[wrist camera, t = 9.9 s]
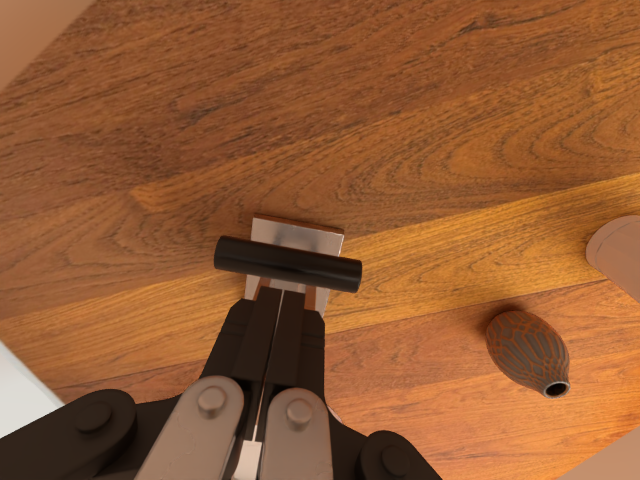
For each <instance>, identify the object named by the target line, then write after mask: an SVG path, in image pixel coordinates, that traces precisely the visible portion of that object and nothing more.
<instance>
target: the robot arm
mask: <svg viewBox="0 0 640 480" xmlns="http://www.w3.org/2000/svg"><path fill="white" fill-rule="evenodd" d="M282 290H283V289H277V288H272V287H266V286H261V287H260V290H259V293H258V296H257V299H256V301H255V300H249V299H243V298H241V299H240V300H239V301H238V302H237V303H235V304H234V305H233V306H232V307H231V308H230V310H229V313H228V315H227V317H226V319H225V322H224V324H223V326H222V328H221V332H220V333H219V335H218V337H217V340H216V342H215V344H214V347H213V349H212V351H211V353H210V356H209V358H208V360H207V362H206V365H205V367H204V369H203V372H202V374H201V376H200V377H199V379H198V380H197V381H195V382H194V383H192V384H191V385H190V386H189V387H188V388H187V389H186V390H185V391H184V392H183V393H182V394H180V395H177V396H175V397H172V398H169V399H165V400H160V401H153V402H147V403H140V404H135V402H134V400H133V398H132V397H131V396H130V395H129V394H128V393H126V392H124V391H121V390H117V389H104V390H99V391H95V392H92V393H89V394H87V395H84V396H82V397H80V398H78V399H76V400H74V401H72V402H70V403H68V404H66V405H65V406H63V407H61V408H59V409H57V410H55V411H53V412H51V413H49V414H47V415H45V416H43V417H41V418H39V419H37V420H35V421H33V422H31V423H30V424H28V425H26V426H24V427H22V428H20V429H18V430H16V431H14V432H12V433H10V434H8V435H6V436H4V437H2V438H1V439H0V480H233V477H234V473H235V471H236V469H237V466H238V463H239V459H240V455H241V450H242V446H243V442H244V440H245V441H252V439H253V434H254V430H255V425H256V420H257V416H258V411H259V406H260V402H261V407H260V413H259V419H258V425H257V431H256V436H255V442H261V443H262V445H261V450H260V456H259V461H258V467H257V472H256V477H255V480H442V478H441V477H440V476H439V475H438V474H437V473H436V471H435V470H434V469H433V468H432V467H431V466H430V465H429V463H428V462H427V461H426V460H425V459H424V458H423V457H422V455H421V454H420V453H419V452H418V451H417V450H416V448H415V447H414V446H413V445H412V444H411V443H410V442H409V441H408V440H406V439H405V438H404V437H402V436H401V435H399V434H397V433H395V432H391V431H386V430H381V431H376V432H374V433H372V434H370V435H369V436H368V437H367V436H365V435H363V434H361V433H359V432H357V431H355V430H353V429H351V428H349V427H347V426H345V425H344V424H342V423H341V422H340V421H338V420H337V419H336V418H335V417H334V416H333V414H332V413H331V412H330V410H329V408H328V407H327V404H326V401H325V397H324V347H325V339H324V337H325V323H324V321H323V319H322V317H321V315H320V313H319V311H314V310H308V309H304V306H305V296H306V293H301V292H295V291H289V290H284V294H283V299H282V304H281V308H280V302H281V297H282ZM279 308H280V313H279ZM278 314H279V318H278ZM277 319H278V322H277ZM276 325H277V327H276ZM275 330H276V332H275ZM272 345H273V346H272ZM271 350H272V351H271ZM269 359H270V360H269ZM268 364H269V365H268ZM265 378H266V379H265ZM264 383H265V384H264ZM263 388H264V390H263ZM262 392H263V396H262ZM261 397H262V401H261Z"/></svg>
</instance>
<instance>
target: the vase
mask: <svg viewBox="0 0 640 480" xmlns="http://www.w3.org/2000/svg"><path fill="white" fill-rule="evenodd" d="M486 345H487V349H488V352H489V354H490V356H491V358H492V360H493V361H494V363H495V364H496V366H497V367H498V368H499V369H500V370H501V371H502V372H503V373H504V374H505V375H506V376H507V377H509V378H510V379H511V380H513V381H514V382H516V383H518V384H520V385H522V386H525V387H527V388H530V389H533V390H535V391H537V392H539V393H541V394H542V395H543V396H545V397H547V398H551V399H554V398H560V397H562V396H564V395H566V394H567V393H568V392H569V390H570V383H569V379H568V373H569V354H568V351H567V348H566V346H565V344H564V342H563V340H562V338H561V337H560V335H559V334H558V333H557V332H556V331H555V330H554V329H553V328H552V327H551V326H550V325H549V324H548V323H547V322H546V321H544V320H543V319H541V318H539V317H537V316H536V315H533V314H531V313H528V312H524V311H508V312H504V313H501V314H499V315H497V316H496V317H495V318H494V319H493V320H492V321H491V322H490V324H489V325H488V327H487V330H486Z"/></svg>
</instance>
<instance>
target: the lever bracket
mask: <svg viewBox="0 0 640 480" xmlns="http://www.w3.org/2000/svg"><path fill="white" fill-rule="evenodd" d="M343 239H344V230H341V229H335V228H330V227H325V226H320V225H314V224H309V223H304V222H299V221H293V220H288V219H283V218H278V217H272V216H267V215H262V214H257V213H256V214H255V215H254V217H253V223H252V232H251V240H252V241H258V242H263V243H268V244H274V245H279V246H285V247H290V248H296V249H301V250H306V251H312V252H317V253H323V254H328V255H334V256H339V254H340V251H341V247H342V243H343ZM273 285H274V279H270V278H264V277H259V276H253V275H247V278H246V287H245V297H244V299H249V300H255V301H256V299H257V296H258V293H259V290H260V287H261V286H266V287H272V288H273ZM297 292H301V293H306V296H305V306H304V309H308V310H314V311H319V313H320V315H321V317H322V319H323V316H324V312H325V308H326V304H327V300H328V297H329V293H330V289H327V288H321V287H315V286H310V285H304V284H299V286H298V290H297Z"/></svg>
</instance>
